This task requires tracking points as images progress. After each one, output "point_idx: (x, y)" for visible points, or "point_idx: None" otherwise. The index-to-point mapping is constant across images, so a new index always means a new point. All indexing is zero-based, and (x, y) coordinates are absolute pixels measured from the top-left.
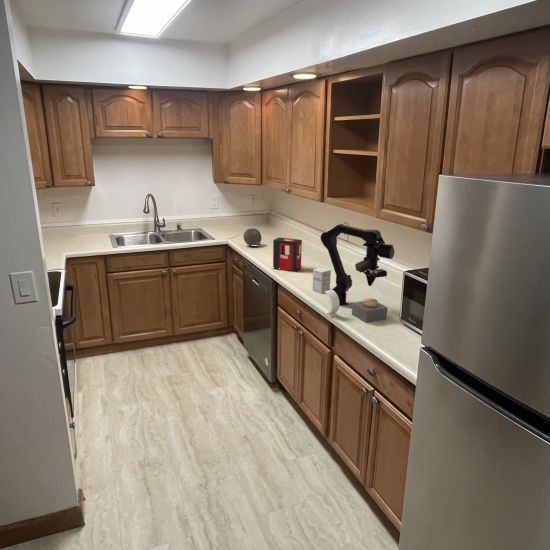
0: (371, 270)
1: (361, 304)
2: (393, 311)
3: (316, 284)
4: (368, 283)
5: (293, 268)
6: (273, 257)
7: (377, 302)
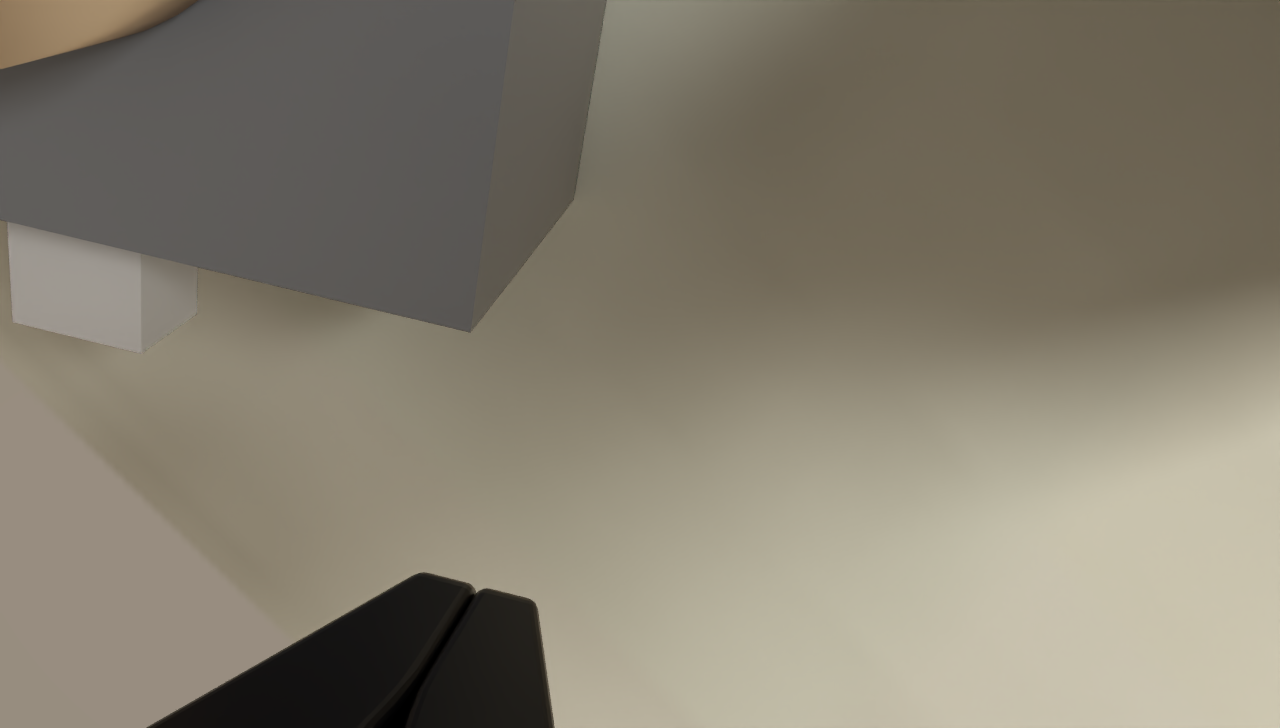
0: None
1: None
2: (296, 589)
3: None
4: (456, 675)
5: None
6: None
7: (143, 228)
